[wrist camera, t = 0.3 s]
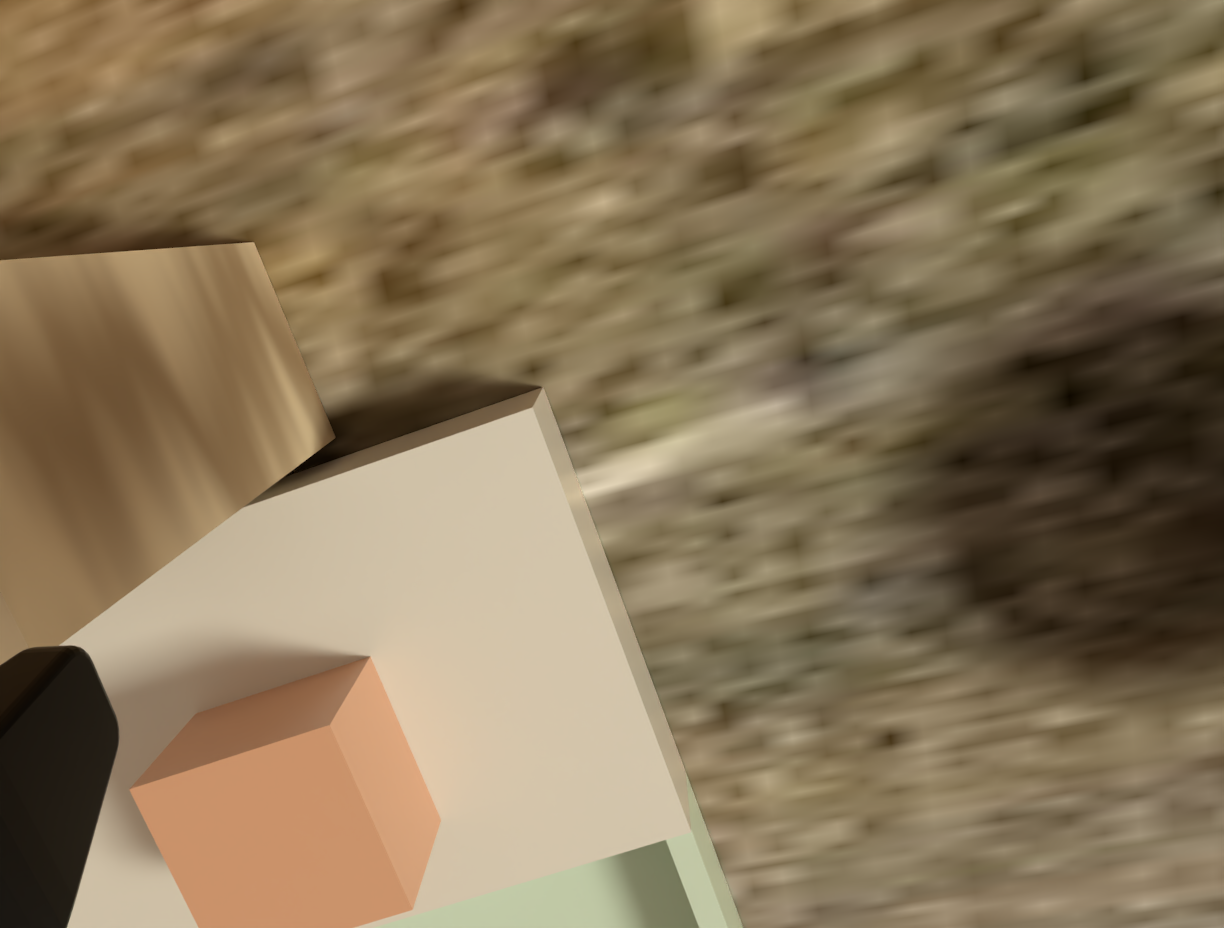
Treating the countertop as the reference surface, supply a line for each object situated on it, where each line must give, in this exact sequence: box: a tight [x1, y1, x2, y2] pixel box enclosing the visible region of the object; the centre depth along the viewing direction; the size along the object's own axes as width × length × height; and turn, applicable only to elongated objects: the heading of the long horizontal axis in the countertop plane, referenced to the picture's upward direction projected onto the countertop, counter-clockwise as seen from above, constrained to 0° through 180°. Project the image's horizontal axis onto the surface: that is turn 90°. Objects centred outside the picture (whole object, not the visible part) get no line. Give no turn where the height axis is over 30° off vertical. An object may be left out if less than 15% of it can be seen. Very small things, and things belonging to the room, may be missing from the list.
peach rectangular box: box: [129, 656, 441, 928], centre depth 21 cm, size 4×4×3 cm
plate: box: [59, 387, 691, 928], centre depth 23 cm, size 10×14×2 cm
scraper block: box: [0, 242, 336, 665], centre depth 17 cm, size 4×4×12 cm
